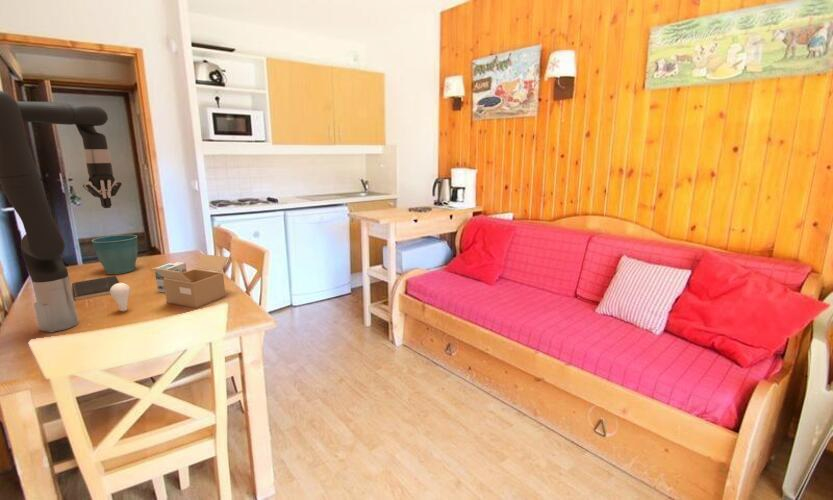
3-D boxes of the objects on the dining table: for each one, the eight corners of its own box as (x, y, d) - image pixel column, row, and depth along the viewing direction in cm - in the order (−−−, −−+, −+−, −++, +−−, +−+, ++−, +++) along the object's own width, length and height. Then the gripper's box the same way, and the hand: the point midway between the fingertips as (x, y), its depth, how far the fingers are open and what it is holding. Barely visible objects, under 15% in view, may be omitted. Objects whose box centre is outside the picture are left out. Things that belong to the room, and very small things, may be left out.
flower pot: (104, 268, 208) (98, 236, 204) (146, 264, 215) (140, 233, 211) (93, 278, 192) (86, 243, 188) (138, 274, 199) (132, 240, 195)
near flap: (191, 280, 153) (190, 281, 152) (164, 276, 158) (163, 277, 158) (179, 271, 148) (178, 272, 147) (151, 267, 153) (151, 268, 153)
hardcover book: (116, 280, 191) (115, 275, 190) (122, 293, 174) (121, 287, 173) (72, 287, 181) (71, 282, 180) (74, 301, 164) (73, 296, 163)
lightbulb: (130, 306, 157) (125, 279, 154) (136, 310, 153) (131, 282, 150) (111, 311, 152) (106, 283, 149) (116, 315, 148) (111, 287, 146)
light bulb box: (170, 293, 171) (167, 268, 169) (157, 292, 173) (153, 268, 170) (189, 285, 182) (186, 262, 179) (176, 284, 183) (173, 261, 180)
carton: (196, 308, 155) (192, 283, 152) (166, 302, 161) (162, 278, 158) (225, 296, 167) (222, 273, 165) (197, 291, 173) (194, 269, 171)
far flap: (228, 257, 168) (228, 257, 168) (202, 253, 173) (203, 254, 173) (220, 271, 165) (221, 271, 165) (195, 267, 170) (195, 267, 170)
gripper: (85, 162, 145) (94, 210, 150) (123, 161, 157) (130, 206, 161) (72, 162, 148) (81, 209, 152) (110, 161, 160) (118, 205, 164)
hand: (107, 207), depth 157 cm, fingers closed
